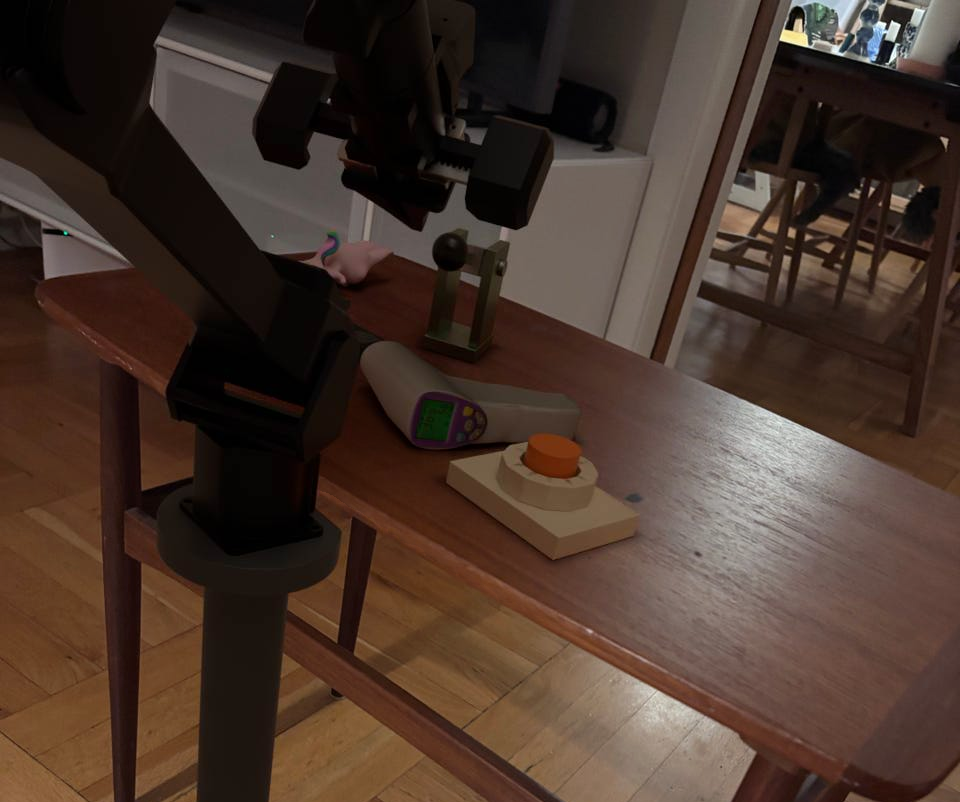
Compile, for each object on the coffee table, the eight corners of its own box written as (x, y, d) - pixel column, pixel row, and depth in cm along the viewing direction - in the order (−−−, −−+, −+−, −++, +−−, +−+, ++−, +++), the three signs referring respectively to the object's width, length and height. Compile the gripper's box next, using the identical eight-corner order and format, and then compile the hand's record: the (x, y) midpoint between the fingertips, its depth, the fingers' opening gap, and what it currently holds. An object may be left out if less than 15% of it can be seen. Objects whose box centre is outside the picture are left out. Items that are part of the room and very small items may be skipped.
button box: (552, 560, 62) (565, 512, 60) (445, 482, 68) (454, 436, 66) (633, 536, 67) (648, 491, 65) (526, 465, 73) (537, 422, 71)
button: (548, 485, 64) (554, 461, 63) (512, 460, 66) (517, 437, 65) (585, 476, 66) (592, 453, 65) (549, 453, 68) (555, 430, 67)
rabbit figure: (313, 318, 94) (409, 275, 104) (311, 257, 90) (412, 218, 100) (265, 297, 96) (364, 257, 106) (262, 237, 92) (365, 200, 102)
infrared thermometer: (576, 457, 78) (409, 453, 71) (505, 395, 86) (348, 384, 79) (594, 404, 76) (423, 393, 68) (519, 344, 84) (359, 329, 76)
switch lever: (458, 274, 79) (467, 235, 78) (423, 264, 79) (432, 226, 78) (488, 282, 89) (497, 248, 88) (457, 273, 89) (465, 239, 88)
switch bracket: (478, 364, 89) (499, 254, 83) (417, 346, 90) (434, 236, 84) (496, 347, 94) (518, 242, 88) (438, 330, 94) (455, 224, 89)
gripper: (586, -25, 55) (578, 164, 70) (286, -96, 58) (341, 101, 73) (520, 139, 53) (527, 297, 69) (213, 58, 56) (285, 227, 71)
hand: (419, 225), depth 70 cm, fingers closed
